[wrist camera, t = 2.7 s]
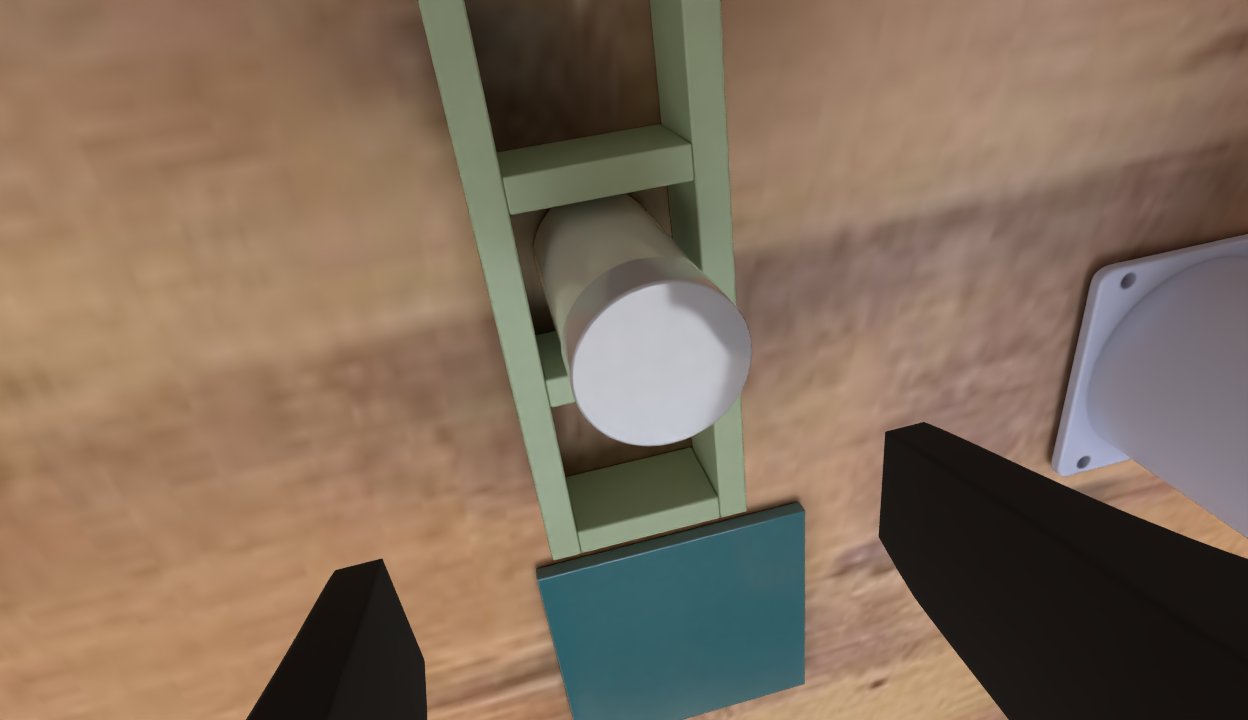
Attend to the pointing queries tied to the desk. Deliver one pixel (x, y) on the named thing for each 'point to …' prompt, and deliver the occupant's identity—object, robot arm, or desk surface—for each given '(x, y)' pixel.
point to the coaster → (682, 619)
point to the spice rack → (586, 170)
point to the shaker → (638, 323)
